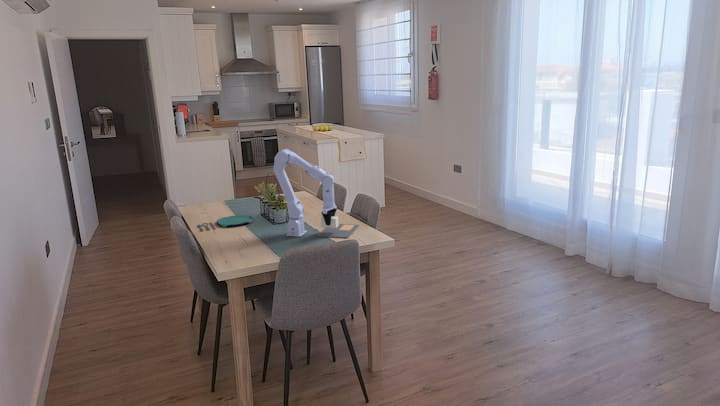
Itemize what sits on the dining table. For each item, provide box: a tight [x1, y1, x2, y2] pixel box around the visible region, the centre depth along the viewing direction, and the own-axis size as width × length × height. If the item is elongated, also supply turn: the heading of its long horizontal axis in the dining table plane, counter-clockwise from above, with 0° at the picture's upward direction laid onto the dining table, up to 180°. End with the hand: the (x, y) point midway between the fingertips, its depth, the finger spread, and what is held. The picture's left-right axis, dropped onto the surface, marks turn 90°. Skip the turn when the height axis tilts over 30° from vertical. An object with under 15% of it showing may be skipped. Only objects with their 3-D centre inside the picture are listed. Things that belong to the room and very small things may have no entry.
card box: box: [320, 215, 340, 229], centre depth 254 cm, size 4×8×5 cm, turn 75°
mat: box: [316, 223, 360, 239], centre depth 260 cm, size 22×16×1 cm
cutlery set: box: [197, 214, 253, 232], centre depth 278 cm, size 20×30×2 cm, turn 117°
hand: (329, 223), depth 255 cm, fingers closed on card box, 4 cm apart
